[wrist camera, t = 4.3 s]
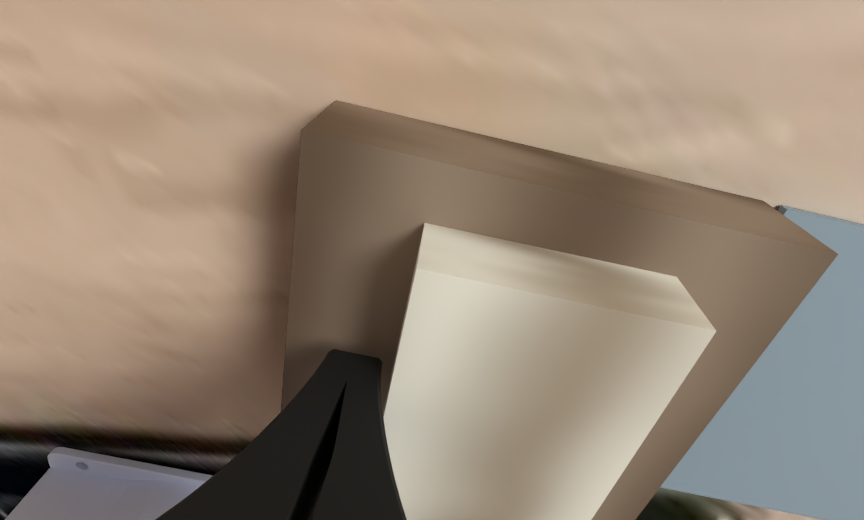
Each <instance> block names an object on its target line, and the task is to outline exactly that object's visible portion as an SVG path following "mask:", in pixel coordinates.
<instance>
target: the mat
mask: <svg viewBox="0 0 864 520" xmlns="http://www.w3.org/2000/svg"><path fill="white" fill-rule="evenodd" d="M777 211H778V212H780V213H781V214H783V215H784V216H785V217H787V218H788V219H790V220H791V221H792V222H794V223H795V224H797V225H798V226H799V227H801V228H802V229H804V230H805V231H806V232H808V233H809V234H811V235H812V236H814V237H815V238H816V239H818V240H819V241H821V242H822V243H823V244H825V245H826V246H828V247H829V248H830V249H832V250H833V251H835V252H836V253H837V254H838V255H837V257H836V258H835V259H834V261H833V262H832V263H831V265H830V266H829V267H828V269H827V270H826V271H825V272H824V274H823V275H822V276H821V278H820V279H819V280H818V282H817V283H816V284H815V286H814V287H813V288H812V289H811V291H810V292H809V293H808V295H807V296H806V297H805V299H804V300H803V301H802V302H801V304H800V305H799V306H798V308H797V309H796V310H795V312H794V313H793V314H792V316H791V317H790V318H789V319H788V321H787V322H786V323H785V325H784V326H783V327H782V329H781V330H780V331H779V332H778V334H777V335H776V336H775V338H774V339H773V340H772V342H771V343H770V344H769V346H768V347H767V348H766V349H765V351H764V352H763V353H762V355H761V356H760V357H759V359H758V360H757V361H756V363H755V364H754V365H753V366H752V368H751V369H750V370H749V372H748V373H747V374H746V376H745V377H744V378H743V379H742V381H741V382H740V383H739V385H738V386H737V387H736V389H735V390H734V391H733V393H732V394H731V395H730V396H729V398H728V399H727V400H726V402H725V403H724V404H723V406H722V407H721V408H720V410H719V411H718V412H717V413H716V415H715V416H714V417H713V419H712V420H711V421H710V423H709V424H708V425H707V426H706V428H705V429H704V430H703V432H702V433H701V434H700V436H699V437H698V438H697V440H696V441H695V442H694V443H693V445H692V446H691V447H690V449H689V450H688V451H687V453H686V454H685V455H684V457H683V458H682V459H681V460H680V462H679V463H678V464H677V466H676V467H675V468H674V470H673V471H672V472H671V473H670V475H669V476H668V477H667V479H666V480H665V481H664V483H663V484H662V485H661V488H666V489H671V490H676V491H682V492H687V493H692V494H697V495H702V496H707V497H712V498H717V499H722V500H727V501H732V502H737V503H742V504H747V505H752V506H757V507H762V508H767V509H772V510H777V511H782V512H787V513H792V514H797V515H802V516H807V517H812V518H817V519H822V520H864V225H863V224H859V223H854V222H850V221H846V220H842V219H837V218H833V217H829V216H825V215H821V214H816V213H812V212H808V211H804V210H799V209H795V208H791V207H787V206H782V205H781V206H780V207H779V209H778V210H777Z"/></svg>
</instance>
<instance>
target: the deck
mask: <svg viewBox="0 0 864 520" xmlns="http://www.w3.org/2000/svg"><path fill="white" fill-rule="evenodd" d="M424 223H428V224H433V225H437V226H442V227H447V228H451V229H456V230H461V231H465V232H470V233H475V234H479V235H484V236H489V237H493V238H498V239H503V240H507V241H512V242H517V243H521V244H526V245H531V246H535V247H540V248H545V249H549V250H554V251H559V252H563V253H568V254H573V255H577V256H582V257H587V258H591V259H596V260H601V261H605V262H610V263H615V264H619V265H624V266H629V267H633V268H638V269H643V270H647V271H652V272H657V273H661V274H666V275H671V276H675V277H677V278H678V279H679V281H680V282H681V283H682V285H683V286H684V287H685V289H686V290H687V291H688V293H689V294H690V296H691V297H692V298H693V300H694V301H695V302H696V304H697V305H698V306H699V308H700V309H701V311H702V312H703V313H704V315H705V316H706V317H707V319H708V320H709V321H710V323H711V324H712V326H713V327H714V328H715V330H716V333H715V334H714V336H713V337H712V339H711V340H710V342H709V343H708V345H707V346H706V348H705V349H704V351H703V352H702V354H701V355H700V357H699V358H698V360H697V361H696V363H695V364H694V366H693V367H692V369H691V370H690V372H689V373H688V375H687V376H686V378H685V379H684V381H683V382H682V384H681V385H680V387H679V388H678V390H677V391H676V393H675V394H674V396H673V397H672V399H671V401H670V402H669V404H668V405H667V407H666V408H665V410H664V411H663V413H662V414H661V416H660V417H659V419H658V420H657V422H656V423H655V425H654V426H653V428H652V429H651V431H650V432H649V434H648V435H647V437H646V438H645V440H644V441H643V443H642V444H641V446H640V447H639V449H638V450H637V452H636V453H635V455H634V456H633V458H632V459H631V461H630V462H629V464H628V465H627V467H626V468H625V470H624V471H623V473H622V474H621V476H620V477H619V479H618V480H617V482H616V483H615V485H614V486H613V488H612V489H611V491H610V492H609V494H608V495H607V497H606V499H605V500H604V502H603V503H602V505H601V506H600V508H599V509H598V511H597V512H596V514H595V515H594V517H593V518H592V520H635V519H636V518H637V517H638V515H639V514H640V513H641V511H642V510H643V509H644V507H645V506H646V505H647V503H648V502H649V501H650V500H651V498H652V497H653V496H654V494H655V493H656V492H657V490H658V489H659V488H660V487H661V485H662V484H663V483H664V481H665V480H666V479H667V477H668V476H669V475H670V473H671V472H672V471H673V470H674V468H675V467H676V466H677V464H678V463H679V462H680V460H681V459H682V458H683V457H684V455H685V454H686V453H687V451H688V450H689V449H690V447H691V446H692V445H693V443H694V442H695V441H696V440H697V438H698V437H699V436H700V434H701V433H702V432H703V430H704V429H705V428H706V426H707V425H708V424H709V423H710V421H711V420H712V419H713V417H714V416H715V415H716V413H717V412H718V411H719V410H720V408H721V407H722V406H723V404H724V403H725V402H726V400H727V399H728V398H729V396H730V395H731V394H732V393H733V391H734V390H735V389H736V387H737V386H738V385H739V383H740V382H741V381H742V379H743V378H744V377H745V376H746V374H747V373H748V372H749V370H750V369H751V368H752V366H753V365H754V364H755V363H756V361H757V360H758V359H759V357H760V356H761V355H762V353H763V352H764V351H765V349H766V348H767V347H768V346H769V344H770V343H771V342H772V340H773V339H774V338H775V336H776V335H777V334H778V332H779V331H780V330H781V329H782V327H783V326H784V325H785V323H786V322H787V321H788V319H789V318H790V317H791V316H792V314H793V313H794V312H795V310H796V309H797V308H798V306H799V305H800V304H801V302H802V301H803V300H804V299H805V297H806V296H807V295H808V293H809V292H810V291H811V289H812V288H813V287H814V286H815V284H816V283H817V282H818V280H819V279H820V278H821V276H822V275H823V274H824V272H825V271H826V270H827V269H828V267H829V266H830V265H831V263H832V262H833V261H834V259H835V258H836V257H837V255H838V254H837V253H836V252H835V251H833V250H832V249H830V248H829V247H828V246H826V245H825V244H823V243H822V242H821V241H819V240H818V239H816V238H815V237H814V236H812V235H811V234H809V233H808V232H806V231H805V230H804V229H802V228H801V227H799V226H798V225H797V224H795V223H794V222H792V221H791V220H790V219H788V218H787V217H785V216H784V215H783V214H781V213H780V212H778V211H777V210H776V209H774V208H773V207H771V206H770V205H769V204H767V203H766V202H764V201H761V200H757V199H753V198H748V197H744V196H740V195H736V194H731V193H727V192H723V191H719V190H714V189H710V188H706V187H702V186H697V185H693V184H689V183H685V182H680V181H676V180H672V179H668V178H663V177H659V176H655V175H651V174H646V173H642V172H638V171H634V170H629V169H625V168H621V167H617V166H612V165H608V164H604V163H600V162H595V161H591V160H587V159H583V158H578V157H574V156H570V155H566V154H561V153H557V152H553V151H549V150H544V149H540V148H536V147H532V146H527V145H523V144H519V143H515V142H510V141H506V140H502V139H498V138H493V137H489V136H485V135H481V134H476V133H472V132H468V131H464V130H459V129H455V128H451V127H447V126H442V125H438V124H434V123H430V122H425V121H421V120H417V119H413V118H408V117H404V116H400V115H396V114H391V113H387V112H383V111H379V110H374V109H370V108H366V107H362V106H357V105H353V104H349V103H345V102H340V101H335V102H334V103H332V104H331V105H330V106H329V107H328V108H327V109H325V110H324V111H323V112H322V113H321V114H320V115H318V116H317V117H316V118H315V119H314V120H312V121H311V122H310V123H309V124H308V125H307V126H305V127H304V128H303V129H302V130H301V140H300V154H299V168H298V181H297V195H296V209H295V223H294V237H293V250H292V264H291V278H290V292H289V306H288V320H287V333H286V347H285V361H284V375H283V389H282V403H281V412H282V411H283V409H284V408H285V407H286V406H287V405H288V404H289V403H290V402H291V400H292V399H293V398H294V397H295V396H296V395H297V393H298V392H299V391H300V390H301V389H302V388H303V387H304V385H305V384H306V383H307V382H308V380H309V379H310V378H311V376H312V375H313V374H314V373H315V371H316V370H317V369H318V367H319V366H320V364H321V363H322V361H323V360H324V358H325V357H326V355H327V354H328V352H329V351H331V350H333V349H336V350H341V351H346V352H351V353H356V354H361V355H366V356H371V357H376V358H379V359H380V360H381V361H382V362H383V363H382V369H381V399H382V411H383V410H384V405H385V401H386V396H387V392H388V387H389V383H390V378H391V374H392V369H393V364H394V360H395V355H396V351H397V346H398V342H399V337H400V333H401V328H402V323H403V319H404V314H405V310H406V305H407V301H408V296H409V292H410V287H411V282H412V278H413V273H414V269H415V264H416V260H417V255H418V251H419V246H420V241H421V237H422V232H423V228H424Z"/></svg>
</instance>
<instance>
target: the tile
mask: <svg viewBox="0 0 864 520" xmlns="http://www.w3.org/2000/svg"><path fill="white" fill-rule="evenodd" d="M715 333H716V330H715V328H714V327H713V326H712V324H711V323H710V321H709V320H708V319H707V317H706V316H705V315H704V313H703V312H702V311H701V309H700V308H699V306H698V305H697V304H696V302H695V301H694V300H693V298H692V297H691V296H690V294H689V293H688V291H687V290H686V289H685V287H684V286H683V285H682V283H681V282H680V281H679V279H678V278H677V277H675V276H671V275H666V274H661V273H657V272H652V271H647V270H643V269H638V268H633V267H629V266H624V265H619V264H615V263H610V262H605V261H601V260H596V259H591V258H587V257H582V256H577V255H573V254H568V253H563V252H559V251H554V250H549V249H545V248H540V247H535V246H531V245H526V244H521V243H517V242H512V241H507V240H503V239H498V238H493V237H489V236H484V235H479V234H475V233H470V232H465V231H461V230H456V229H451V228H447V227H442V226H437V225H433V224H428V223H424V228H423V232H422V237H421V241H420V246H419V251H418V255H417V260H416V264H415V269H414V273H413V278H412V282H411V287H410V292H409V296H408V301H407V305H406V310H405V314H404V319H403V323H402V328H401V333H400V337H399V342H398V346H397V351H396V355H395V360H394V364H393V369H392V374H391V378H390V383H389V387H388V392H387V396H386V401H385V405H384V410H383V418H384V426H385V433H386V439H387V445H388V450H389V455H390V459H391V464H392V469H393V473H394V477H395V481H396V485H397V489H398V492H399V496H400V499H401V503H402V506H403V509H404V513H405V516H406V519H407V520H592V518H593V517H594V515H595V514H596V512H597V511H598V509H599V508H600V506H601V505H602V503H603V502H604V500H605V499H606V497H607V495H608V494H609V492H610V491H611V489H612V488H613V486H614V485H615V483H616V482H617V480H618V479H619V477H620V476H621V474H622V473H623V471H624V470H625V468H626V467H627V465H628V464H629V462H630V461H631V459H632V458H633V456H634V455H635V453H636V452H637V450H638V449H639V447H640V446H641V444H642V443H643V441H644V440H645V438H646V437H647V435H648V434H649V432H650V431H651V429H652V428H653V426H654V425H655V423H656V422H657V420H658V419H659V417H660V416H661V414H662V413H663V411H664V410H665V408H666V407H667V405H668V404H669V402H670V401H671V399H672V397H673V396H674V394H675V393H676V391H677V390H678V388H679V387H680V385H681V384H682V382H683V381H684V379H685V378H686V376H687V375H688V373H689V372H690V370H691V369H692V367H693V366H694V364H695V363H696V361H697V360H698V358H699V357H700V355H701V354H702V352H703V351H704V349H705V348H706V346H707V345H708V343H709V342H710V340H711V339H712V337H713V336H714V334H715Z"/></svg>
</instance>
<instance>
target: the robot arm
mask: <svg viewBox="0 0 864 520" xmlns="http://www.w3.org/2000/svg"><path fill="white" fill-rule="evenodd" d="M382 363H383V362H382V361H381V360H380V359H379V358H376V357H371V356H366V355H361V354H356V353H351V352H346V351H341V350H336V349H333V350H331V351H329V352H328V354H327V355H326V357H325V358H324V360H323V361H322V363H321V364H320V366H319V367H318V369H317V370H316V371H315V373H314V374H313V375H312V376H311V378H310V379H309V380H308V382H307V383H306V384H305V385H304V387H303V388H302V389H301V390H300V391H299V392H298V393H297V395H296V396H295V397H294V398H293V399H292V400H291V402H290V403H289V404H288V405H287V406H286V407H285V408H284V409H283V411H282V412H281V413H280V414H279V415H278V416H277V417H276V418H275V419H274V420H273V421H272V422H271V423H270V424H269V425H268V426H267V427H266V428H265V429H264V430H263V431H262V432H261V433H260V434H259V435H258V436H257V437H256V438H255V439H254V440H253V441H252V442H251V443H250V444H249V445H248V446H247V447H246V448H244V449H243V450H242V451H241V452H240V453H239V454H238V455H237V456H236V457H234V458H233V459H232V460H231V461H230V462H229V463H228V464H227V465H225V466H224V467H223V468H222V469H221V470H219V471H218V472H217V473H216V474H215V475H208V474H203V473H198V472H192V471H187V470H182V469H177V468H171V467H166V466H161V465H156V464H150V463H145V462H140V461H134V460H129V459H124V458H119V457H113V456H108V455H103V454H98V453H92V452H87V451H82V450H77V449H71V448H66V447H56V448H54V449H53V450H52V451H51V452H50V453H49V455H48V457H47V458H48V462H49V465H50V468H49V469H48V471H47V472H46V473H45V474H44V475H43V476H42V477H41V479H40V480H39V481H38V482H37V483H36V484H35V486H34V487H33V488H32V489H31V490H30V491H29V492H28V494H27V495H26V496H25V497H24V498H23V499H22V500H21V502H20V503H19V504H18V505H17V506H16V507H15V509H14V510H13V511H12V512H11V513H10V514H9V515H8V517H7V518H6V519H5V520H311V518H312V515H313V512H314V510H315V507H316V504H317V502H318V504H317V507H316V510H315V513H314V517H313V520H407V519H406V516H405V513H404V509H403V506H402V503H401V499H400V496H399V492H398V489H397V485H396V481H395V477H394V473H393V469H392V464H391V459H390V455H389V450H388V445H387V439H386V433H385V426H384V418H383V411H382V399H381V369H382ZM320 493H321V495H320ZM319 496H320V498H319ZM318 499H319V501H318Z"/></svg>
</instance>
